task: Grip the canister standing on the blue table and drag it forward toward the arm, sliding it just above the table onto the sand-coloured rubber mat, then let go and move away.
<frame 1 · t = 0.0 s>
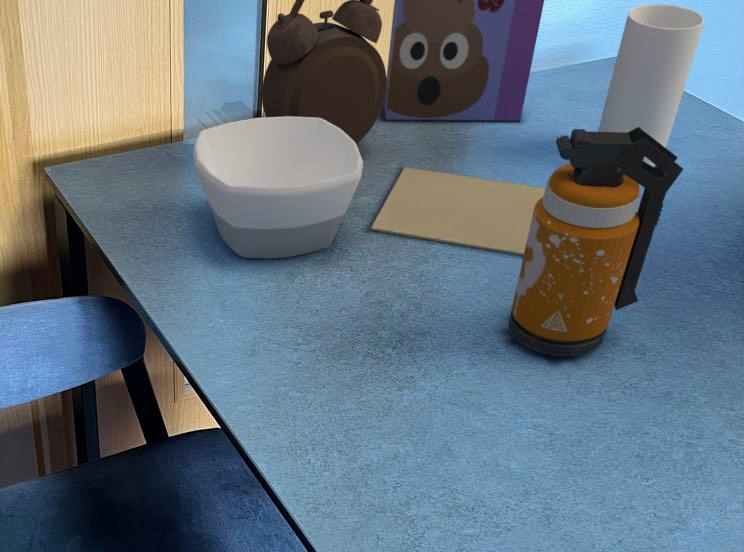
cereal box: (450, 115, 137), on the table
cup: (627, 155, 128), on the table
canister: (564, 337, 100), on the table
alarm clock: (317, 157, 129), on the table
mat: (473, 212, 118), on the table
bowl: (274, 233, 115), on the table
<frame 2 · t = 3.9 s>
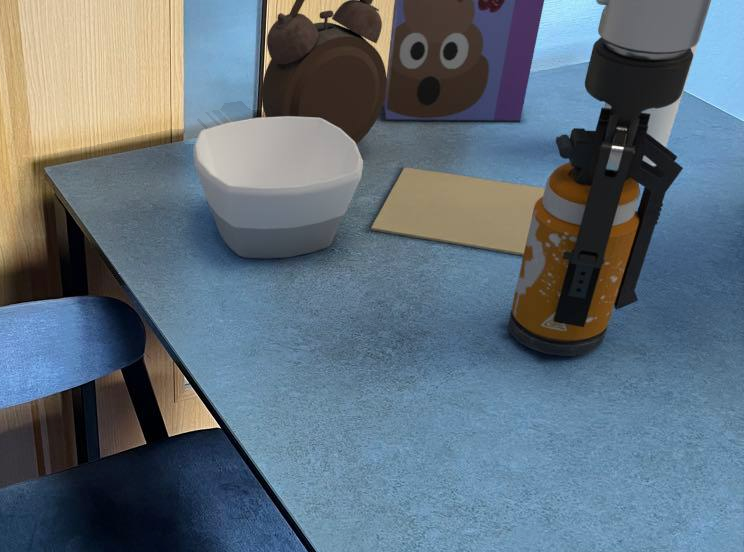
hand: (575, 295, 96), 5 cm above the table, tool pointing down, fingers closed on canister, 9 cm apart
canister: (564, 337, 100), on the table, touching gripper
everything else where it was.
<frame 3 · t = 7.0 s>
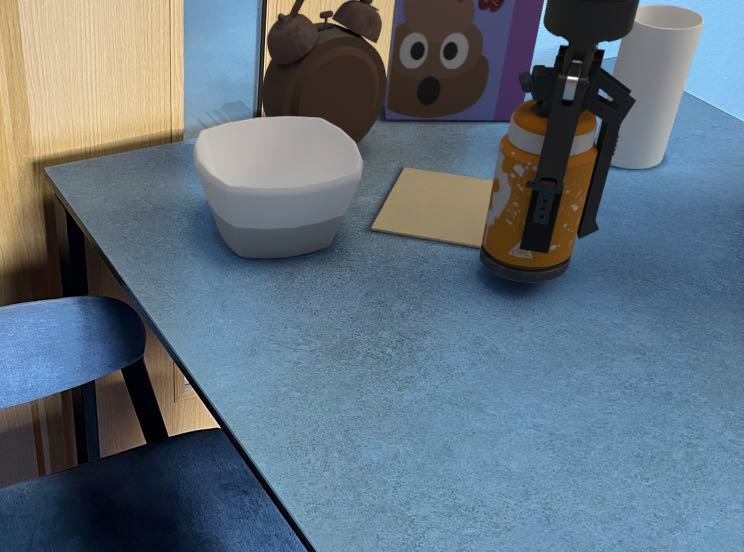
hand: (541, 226, 103), 6 cm above the table, tool pointing down, fingers closed on canister, 9 cm apart
canister: (532, 267, 107), point 1 cm above the table, touching gripper
everything else where it was.
when the fingers open (5 cm above the table, at t = 10.5 s): canister stays where it is, resting on mat.
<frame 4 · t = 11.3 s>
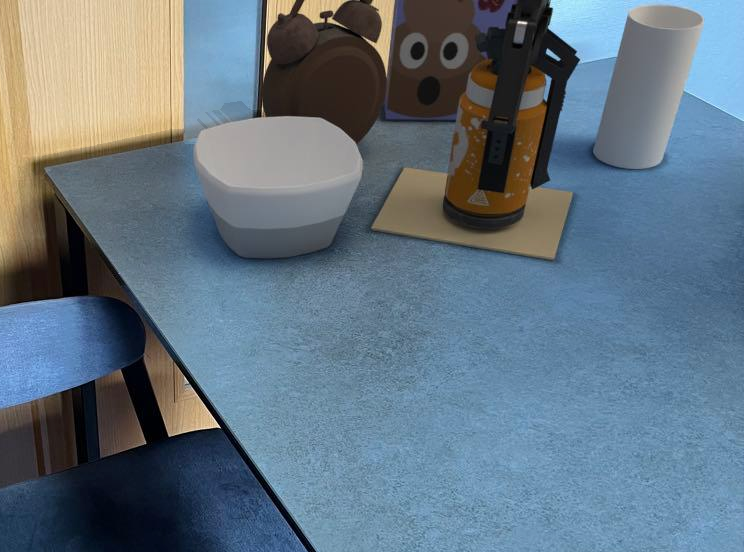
hand: (502, 162, 112), 7 cm above the table, tool pointing down, fingers open, 13 cm apart
canister: (490, 216, 116), resting on mat
everything else where it was.
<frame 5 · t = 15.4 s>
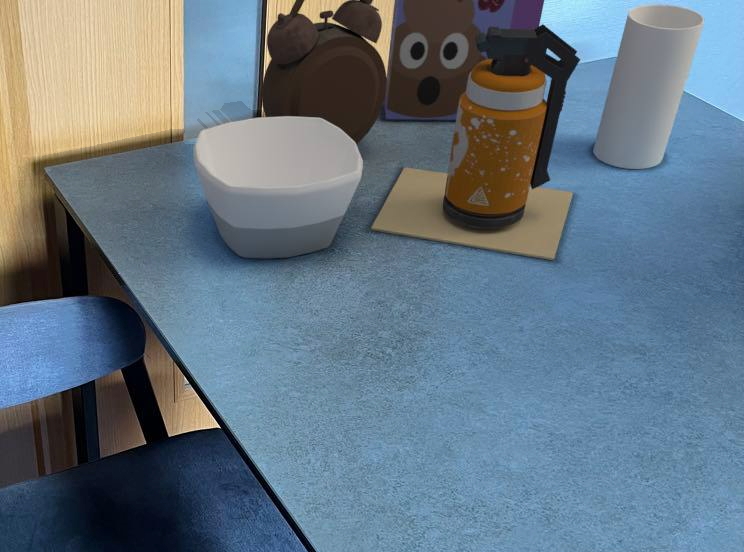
nothing on the table moved.
at the end: canister inside the target area on the mat (2.1 cm from its centre), point 0.1 cm above the mat's base; canister tilted 0°; the gripper is holding nothing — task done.
